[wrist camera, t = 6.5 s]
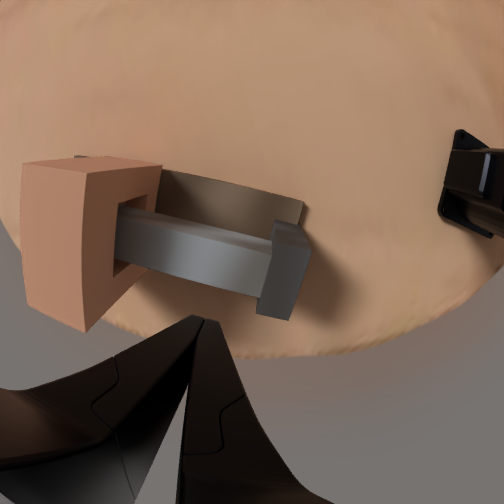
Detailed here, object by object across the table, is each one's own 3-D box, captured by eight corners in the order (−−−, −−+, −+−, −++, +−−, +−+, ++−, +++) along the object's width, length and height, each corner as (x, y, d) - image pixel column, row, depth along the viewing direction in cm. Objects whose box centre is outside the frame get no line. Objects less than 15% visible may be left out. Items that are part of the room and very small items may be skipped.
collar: (162, 165, 16) (86, 173, 8) (147, 270, 18) (85, 333, 11) (108, 156, 16) (22, 163, 8) (98, 255, 18) (28, 304, 11)
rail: (305, 202, 17) (321, 220, 12) (278, 295, 19) (279, 343, 14) (76, 155, 16) (25, 159, 11) (69, 237, 18) (23, 261, 13)
